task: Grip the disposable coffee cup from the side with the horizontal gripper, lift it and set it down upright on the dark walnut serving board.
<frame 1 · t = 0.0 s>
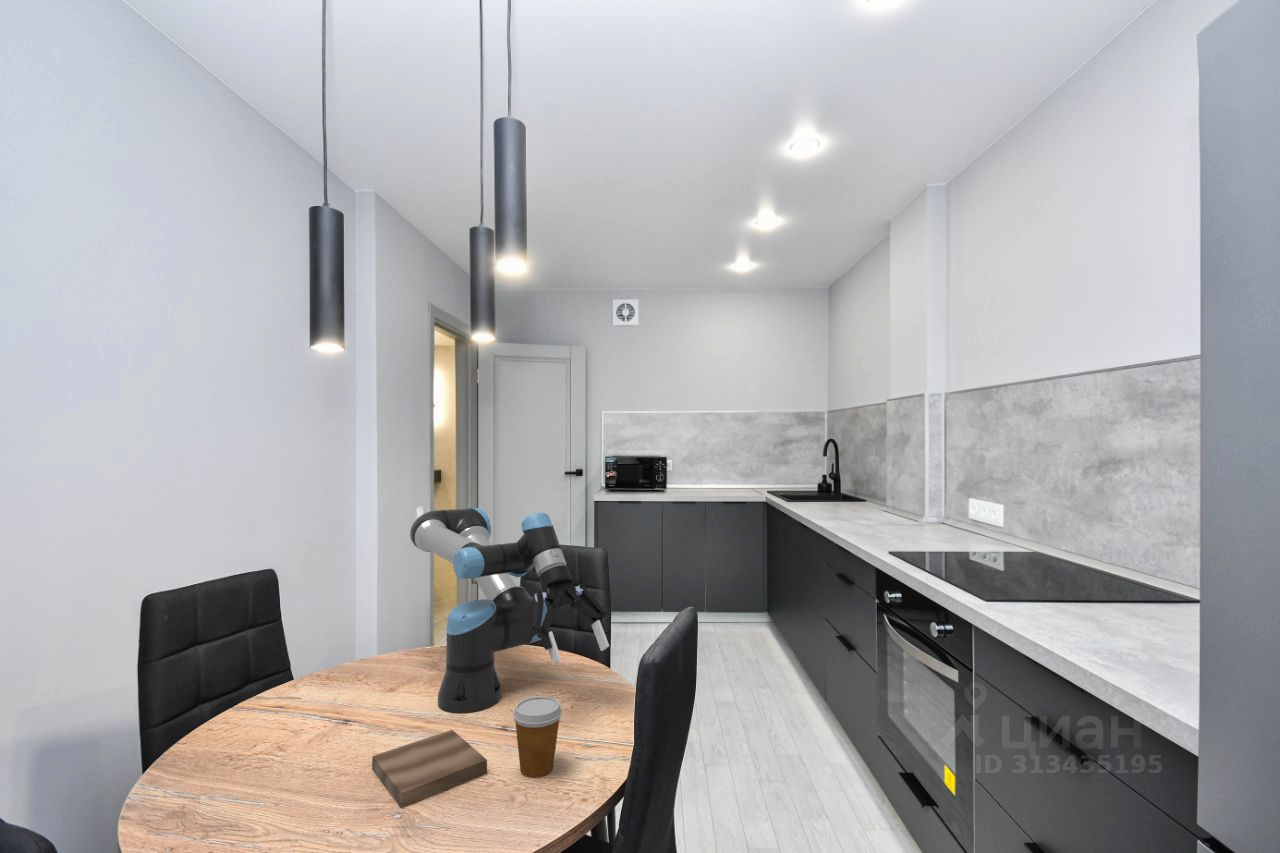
hand: (582, 655, 128), 15 cm above the table, tool tilted 35°, fingers open, 13 cm apart
walnut board: (429, 771, 107), on the table
disposable coffee cup: (536, 769, 108), on the table
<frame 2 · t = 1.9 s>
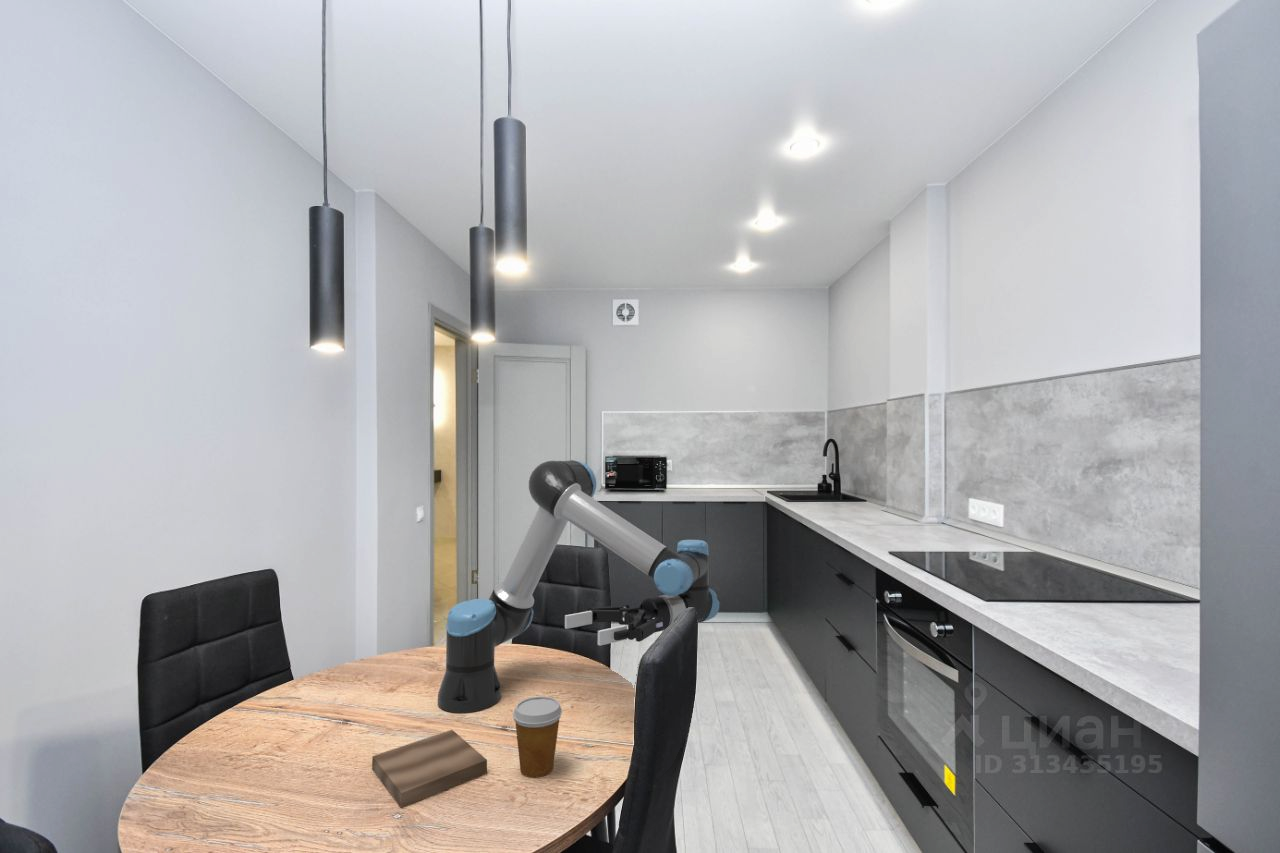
hand: (581, 629, 116), 25 cm above the table, tool horizontal, fingers open, 13 cm apart
nothing on the table moved.
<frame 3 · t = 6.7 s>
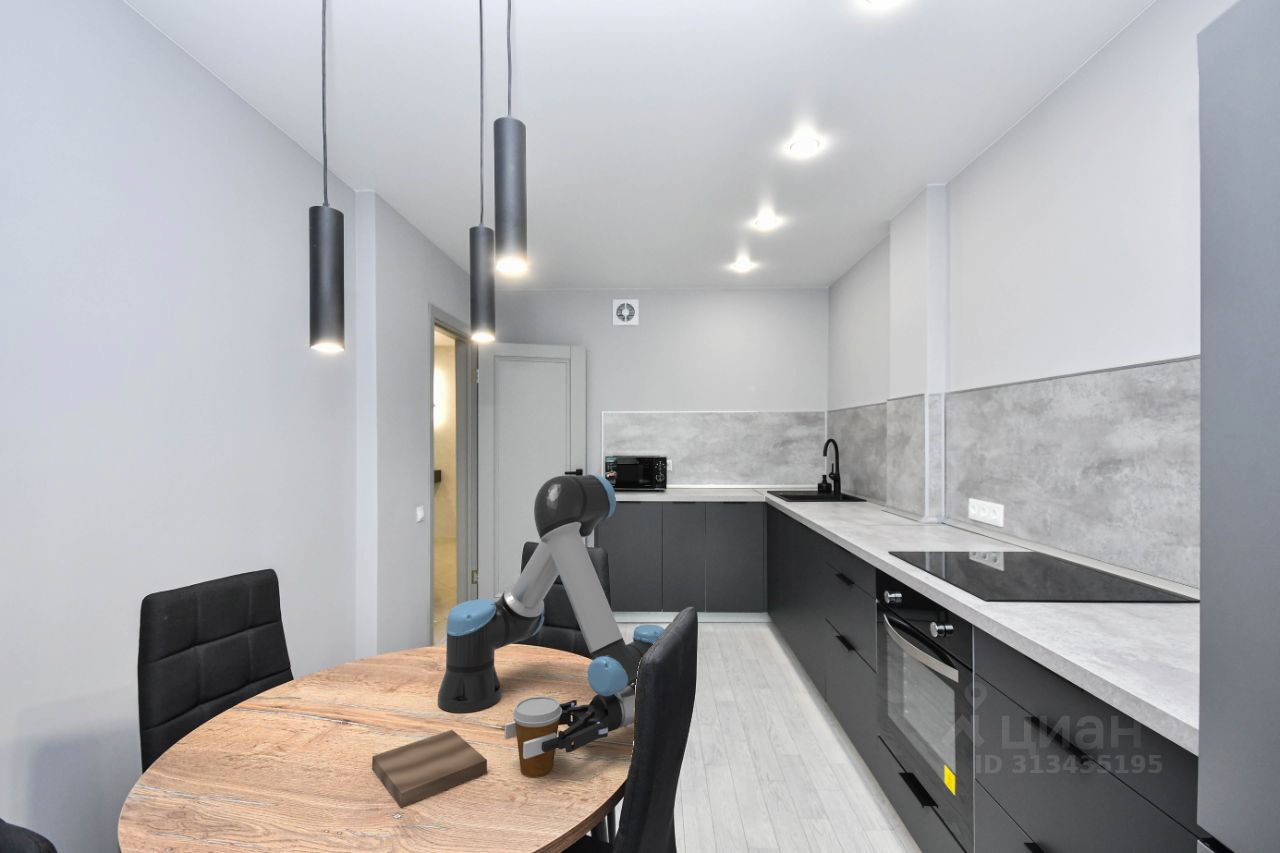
hand: (514, 740, 106), 7 cm above the table, tool horizontal, fingers closed on disposable coffee cup, 8 cm apart
disposable coffee cup: (536, 769, 108), on the table, touching gripper
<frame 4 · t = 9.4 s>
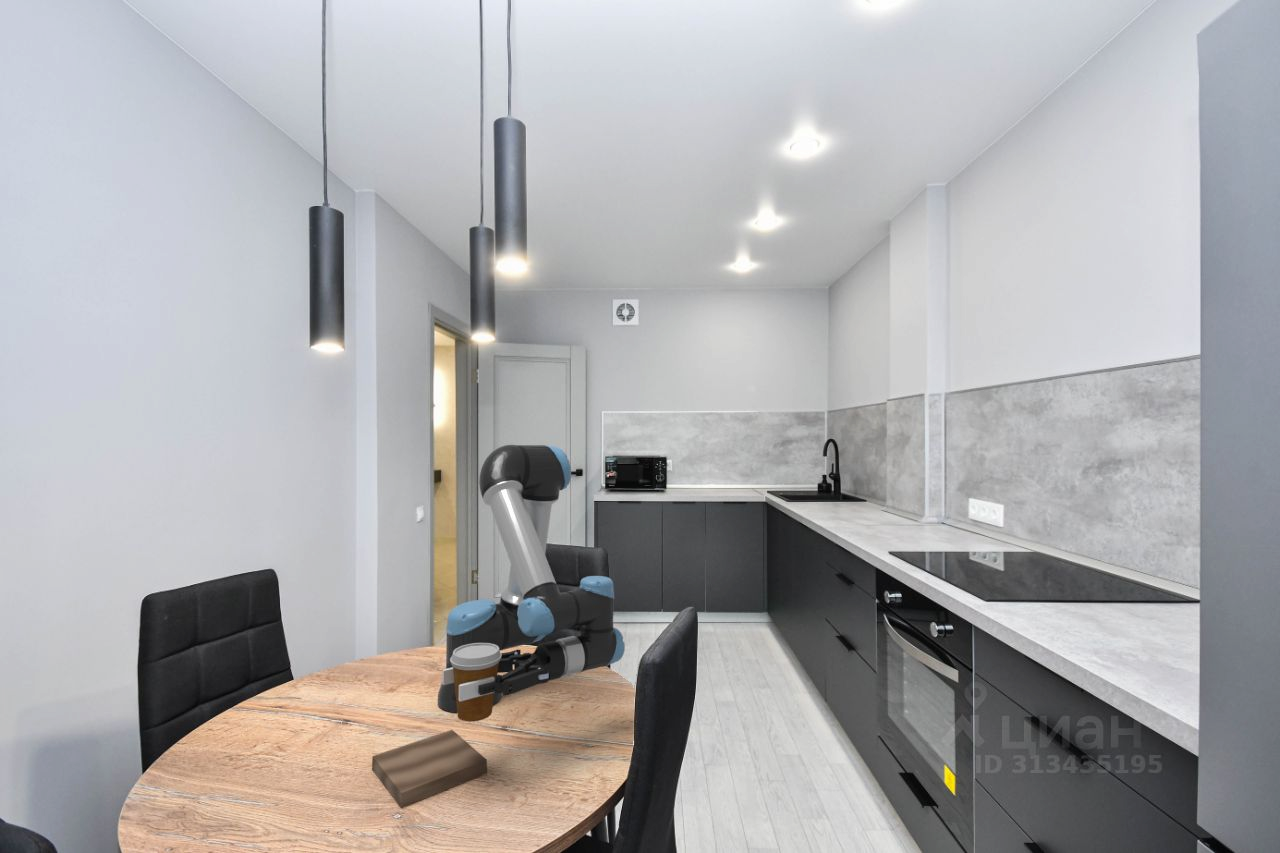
hand: (451, 685, 104), 18 cm above the table, tool horizontal, fingers closed on disposable coffee cup, 8 cm apart
disposable coffee cup: (474, 715, 106), point 11 cm above the table, touching gripper
when the fingers open (11 cm above the table, at t = 12.2 s): disposable coffee cup drops 1 cm, resting on walnut board.
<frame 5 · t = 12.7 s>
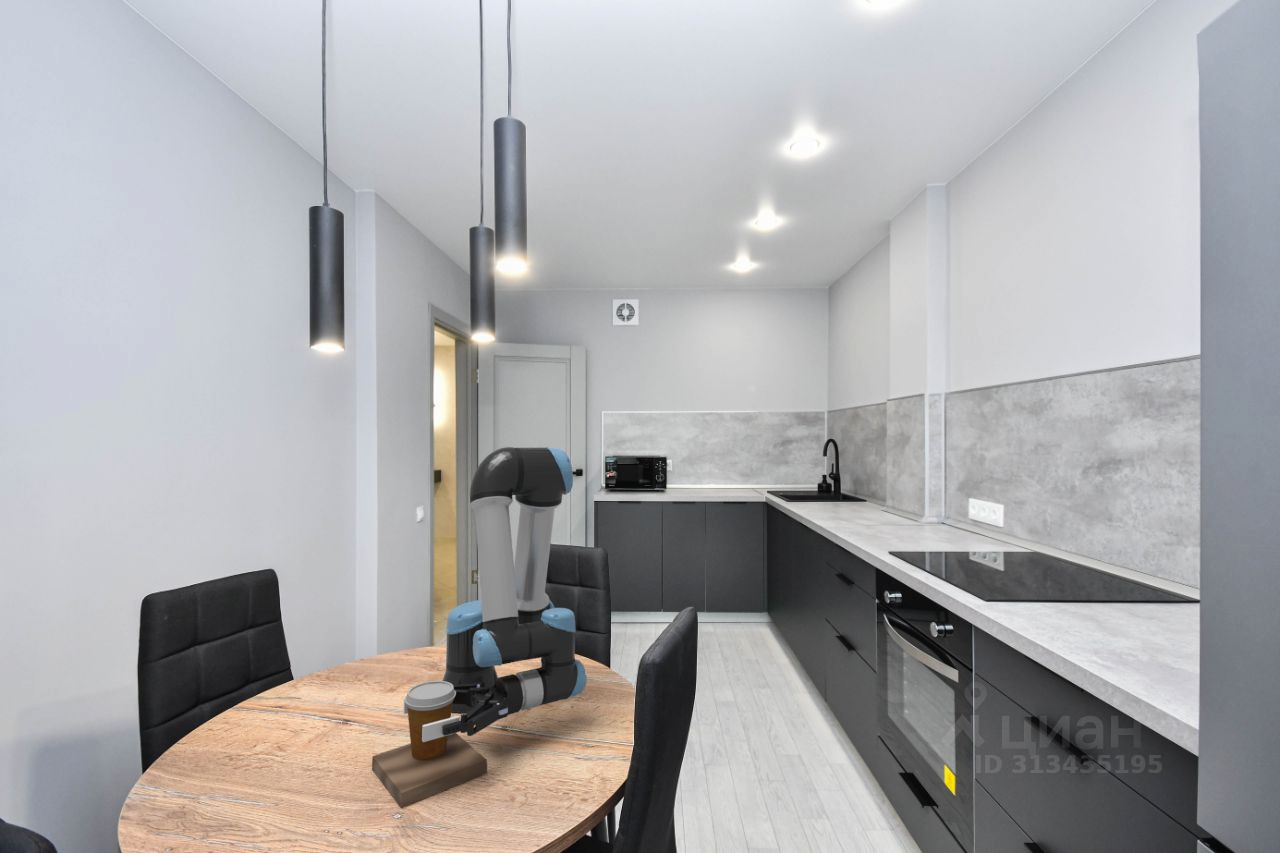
hand: (412, 719, 106), 11 cm above the table, tool horizontal, fingers open, 13 cm apart
disposable coffee cup: (428, 752, 110), point 2 cm above the table, touching gripper, walnut board
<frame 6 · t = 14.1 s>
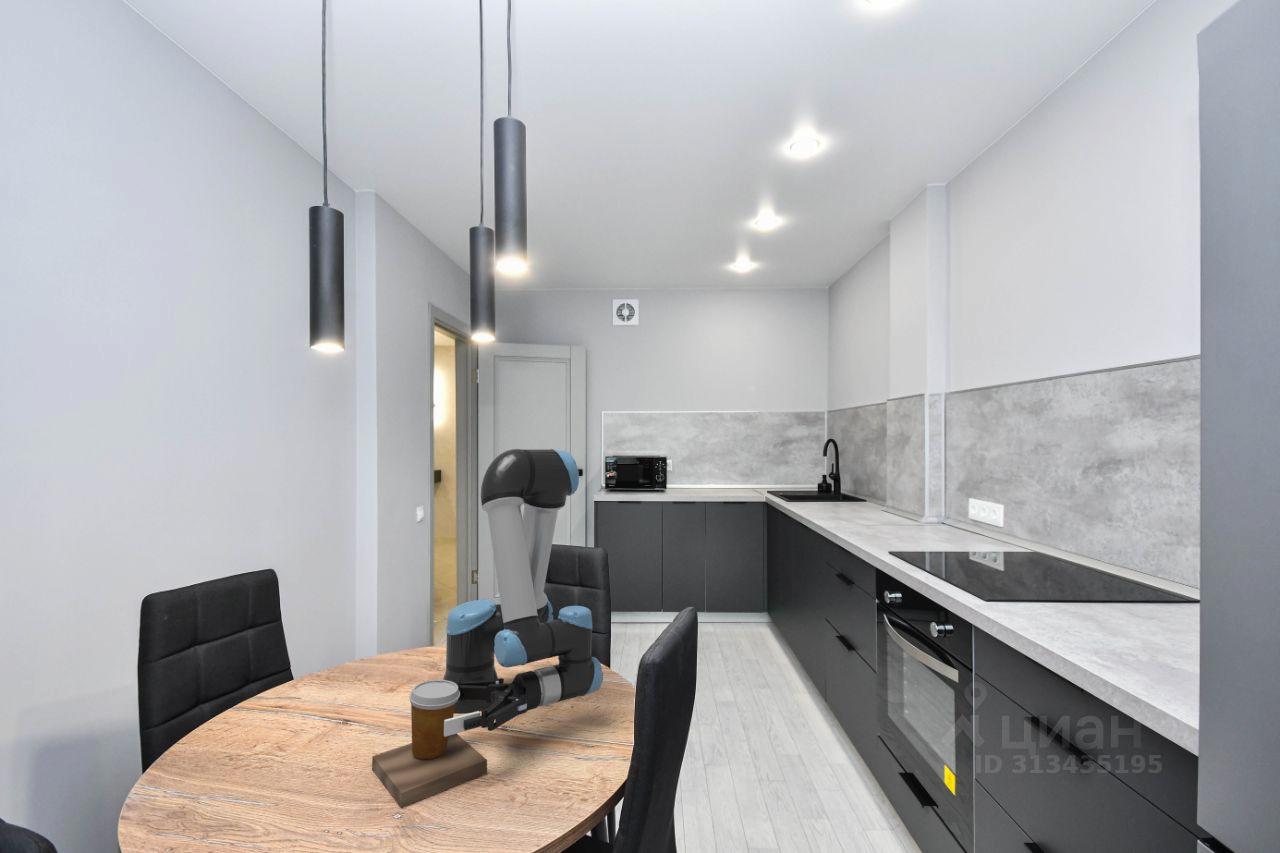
hand: (434, 714, 108), 11 cm above the table, tool horizontal, fingers open, 13 cm apart
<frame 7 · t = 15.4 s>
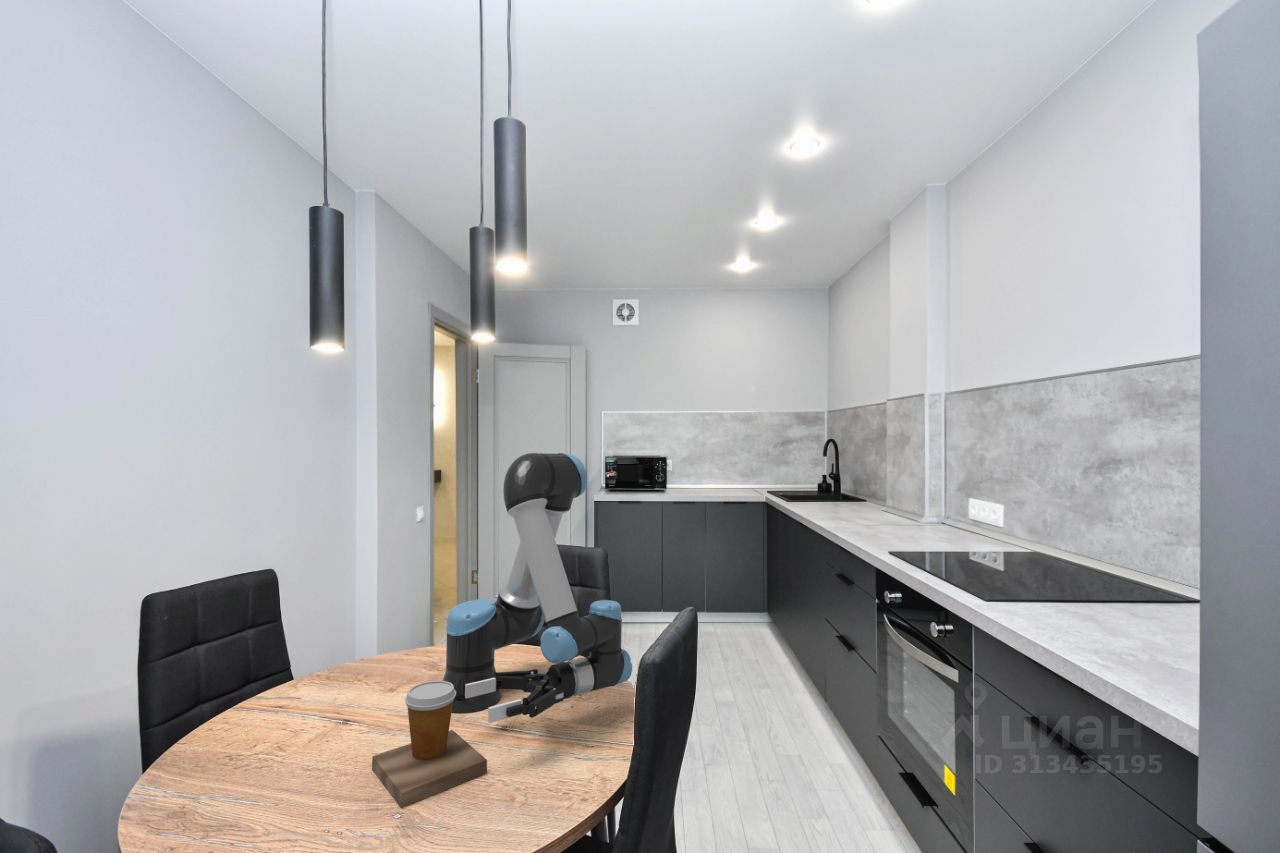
hand: (476, 702, 113), 11 cm above the table, tool horizontal, fingers open, 13 cm apart
disposable coffee cup: (429, 752, 110), point 2 cm above the table, touching walnut board
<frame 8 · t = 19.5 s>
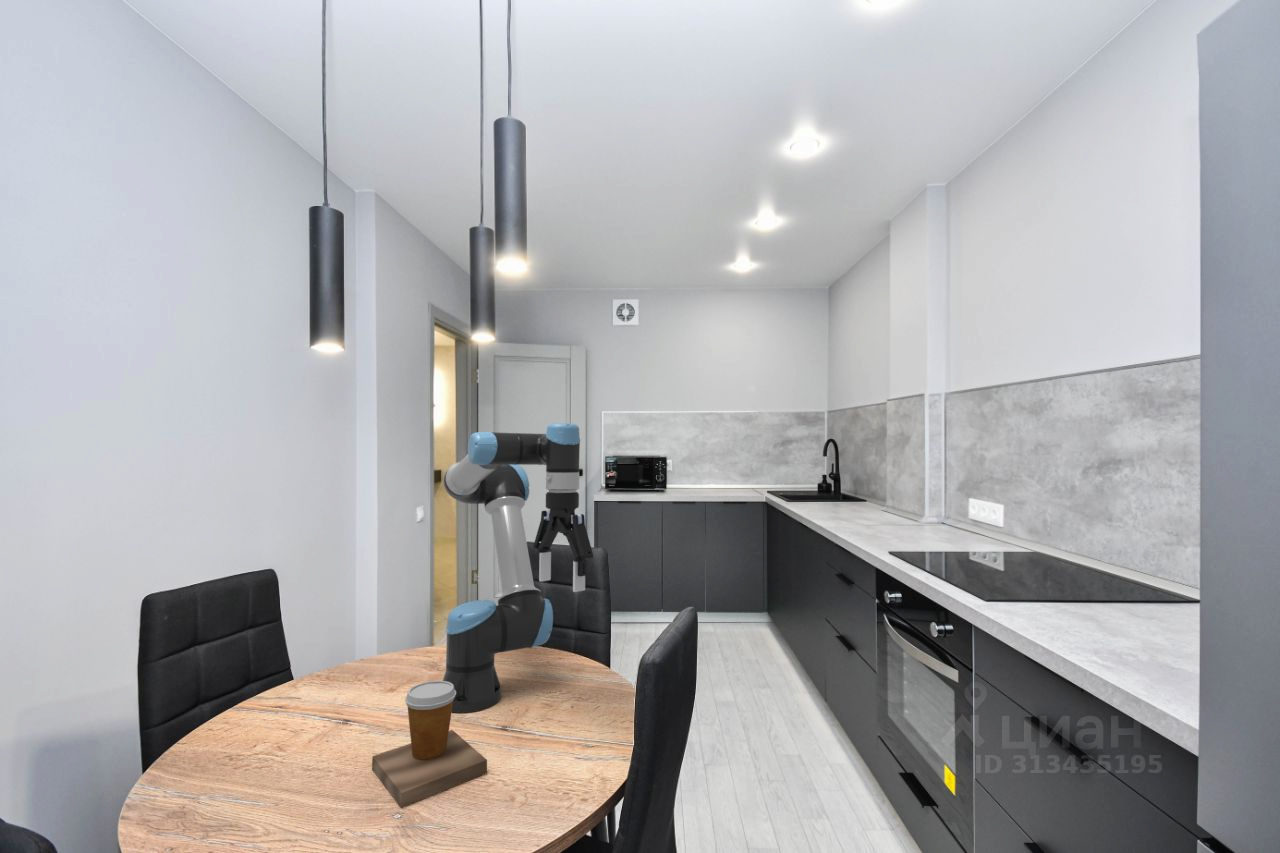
hand: (561, 585, 126), 32 cm above the table, tool pointing down, fingers open, 13 cm apart
nothing on the table moved.
at the end: disposable coffee cup inside the target area on the walnut board (2.5 cm from its centre), point 2.3 cm above the walnut board's base; disposable coffee cup tilted 0°; the gripper is holding nothing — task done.
